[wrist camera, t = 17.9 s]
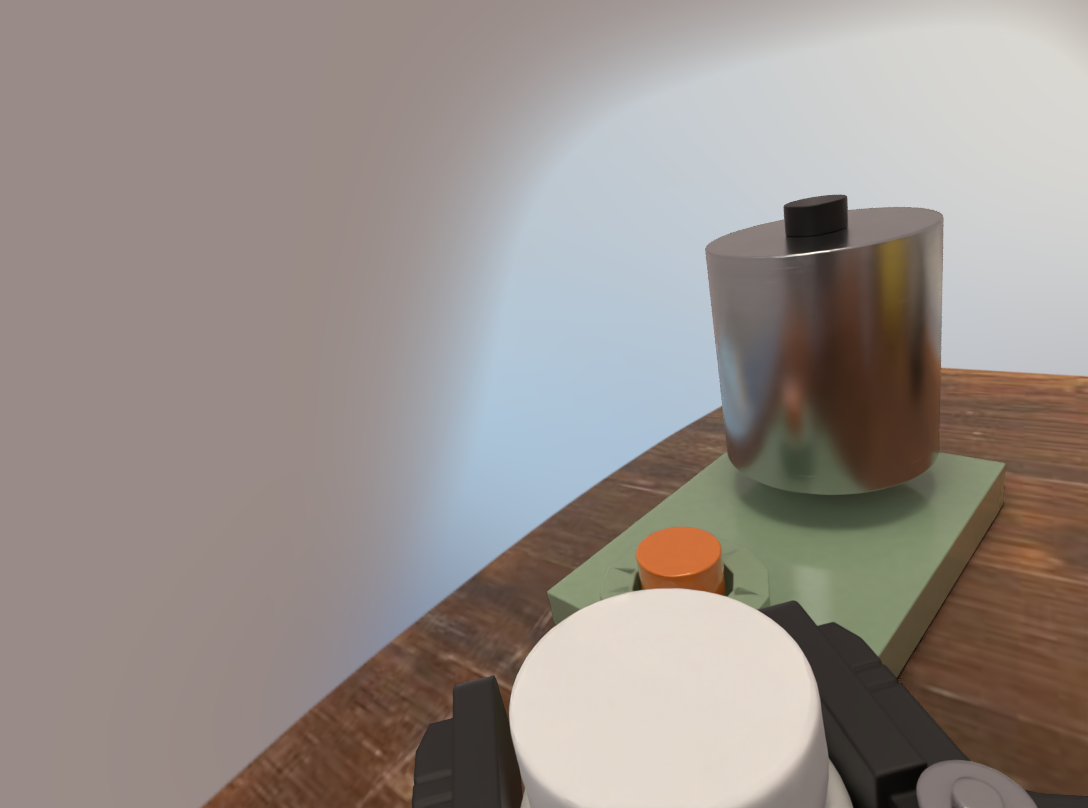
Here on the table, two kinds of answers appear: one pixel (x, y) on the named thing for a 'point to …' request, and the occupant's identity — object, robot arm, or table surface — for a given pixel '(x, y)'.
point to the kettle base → (820, 548)
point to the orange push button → (681, 561)
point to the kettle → (830, 345)
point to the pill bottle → (671, 710)
